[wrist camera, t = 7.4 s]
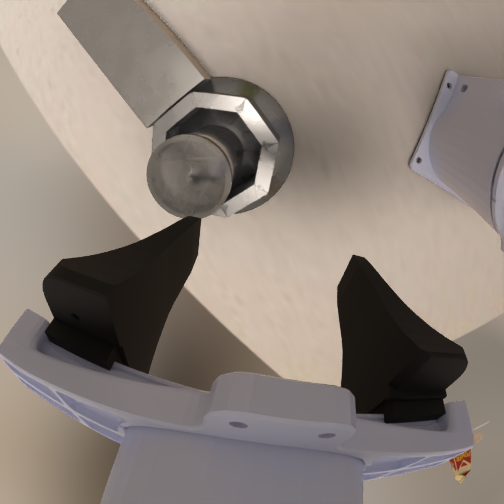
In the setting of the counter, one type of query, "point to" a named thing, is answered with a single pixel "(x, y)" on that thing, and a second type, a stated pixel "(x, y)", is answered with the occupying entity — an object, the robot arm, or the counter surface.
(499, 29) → the counter surface
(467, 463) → the milk carton
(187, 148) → the metal knob
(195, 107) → the grey piece
